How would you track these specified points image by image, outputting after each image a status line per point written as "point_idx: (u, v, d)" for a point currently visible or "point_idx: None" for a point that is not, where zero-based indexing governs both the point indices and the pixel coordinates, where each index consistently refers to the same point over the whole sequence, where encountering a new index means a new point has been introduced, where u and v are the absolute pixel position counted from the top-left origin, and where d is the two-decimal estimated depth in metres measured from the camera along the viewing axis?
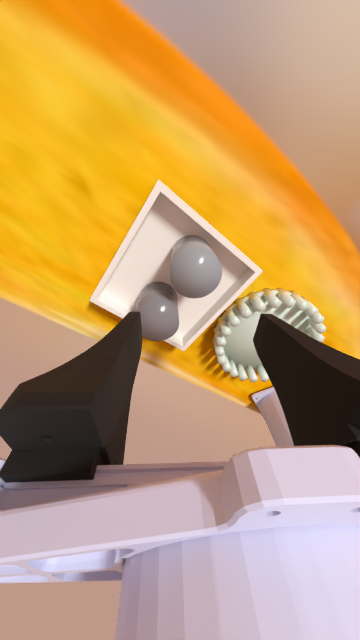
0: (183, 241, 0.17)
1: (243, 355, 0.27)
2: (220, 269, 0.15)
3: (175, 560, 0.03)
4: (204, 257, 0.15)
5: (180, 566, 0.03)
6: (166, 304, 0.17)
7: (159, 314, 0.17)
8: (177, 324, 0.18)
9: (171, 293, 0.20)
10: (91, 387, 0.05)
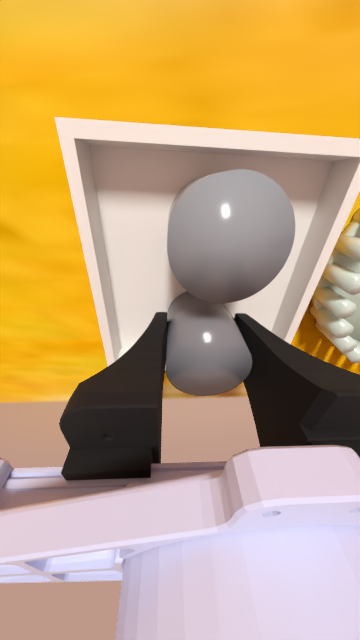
0: (174, 202, 0.08)
1: None
2: (282, 196, 0.06)
3: (175, 560, 0.03)
4: (226, 194, 0.06)
5: (180, 566, 0.03)
6: (206, 333, 0.09)
7: (205, 354, 0.09)
8: (247, 353, 0.09)
9: None
10: (151, 386, 0.05)
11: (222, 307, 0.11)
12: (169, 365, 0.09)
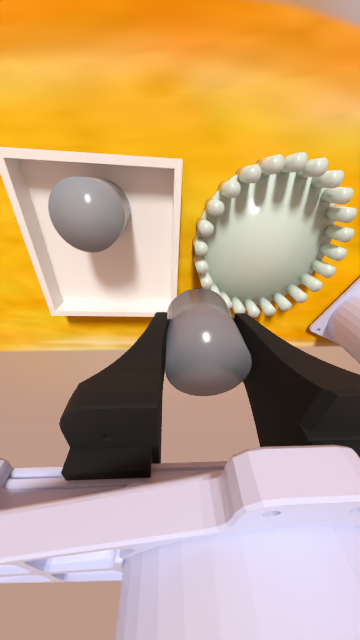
0: None
1: (257, 285, 0.20)
2: (102, 190, 0.11)
3: (175, 560, 0.03)
4: (72, 189, 0.11)
5: (180, 566, 0.03)
6: (205, 332, 0.09)
7: (204, 354, 0.09)
8: (246, 353, 0.09)
9: (208, 301, 0.11)
10: (151, 387, 0.05)
11: (221, 307, 0.11)
12: (168, 365, 0.09)
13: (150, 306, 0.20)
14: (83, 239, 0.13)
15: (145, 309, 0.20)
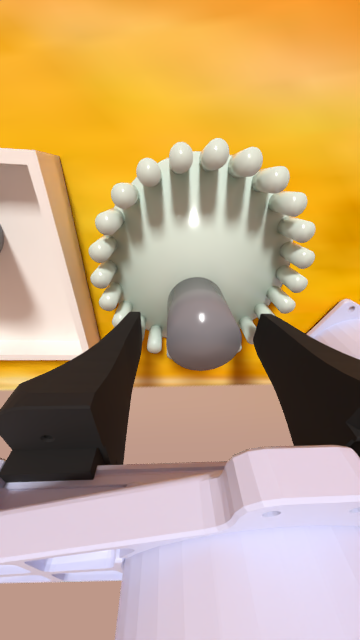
0: None
1: None
2: None
3: (175, 560, 0.03)
4: None
5: (180, 566, 0.03)
6: (200, 310, 0.10)
7: (200, 330, 0.10)
8: (236, 330, 0.10)
9: (204, 287, 0.12)
10: (91, 387, 0.05)
11: (216, 292, 0.12)
12: (169, 340, 0.11)
13: (62, 345, 0.15)
14: None
15: (52, 350, 0.15)
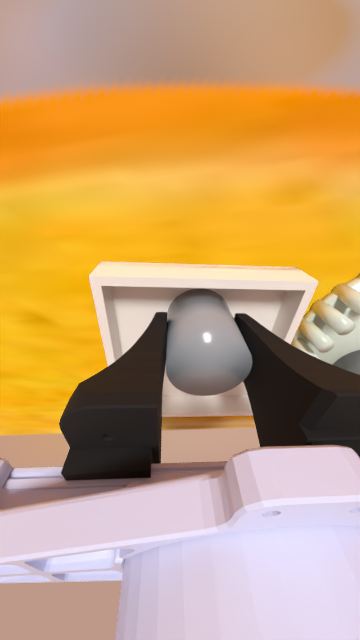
0: (171, 316, 0.11)
1: None
2: (241, 345, 0.09)
3: (175, 560, 0.03)
4: (204, 345, 0.09)
5: (180, 566, 0.03)
6: None
7: None
8: None
9: None
10: (151, 387, 0.05)
11: None
12: None
13: (228, 401, 0.17)
14: (199, 386, 0.10)
15: (223, 406, 0.17)
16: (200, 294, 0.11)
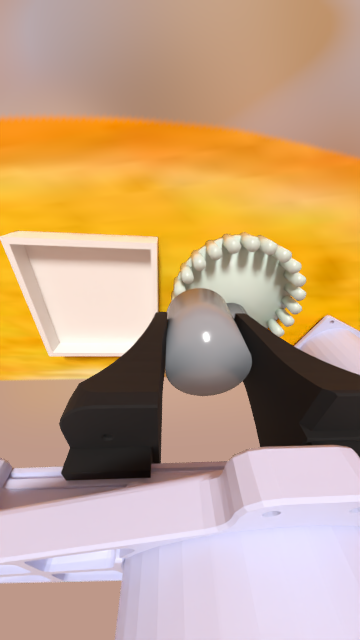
0: (171, 316, 0.11)
1: None
2: (240, 345, 0.09)
3: (175, 561, 0.03)
4: (204, 345, 0.09)
5: (180, 566, 0.03)
6: None
7: None
8: None
9: (238, 310, 0.20)
10: (151, 387, 0.05)
11: None
12: None
13: None
14: (198, 386, 0.10)
15: None
16: (200, 294, 0.11)
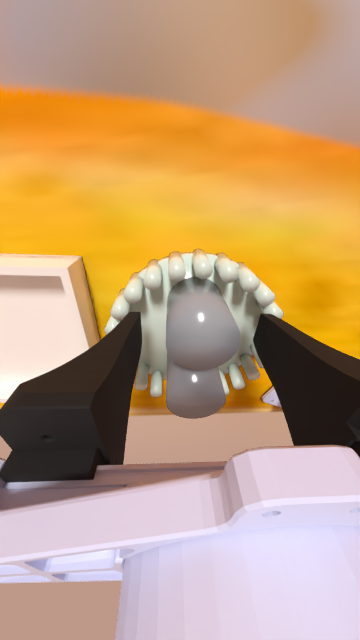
0: (170, 301, 0.13)
1: None
2: (230, 321, 0.10)
3: (175, 560, 0.03)
4: (199, 321, 0.10)
5: (180, 566, 0.03)
6: (192, 379, 0.13)
7: (192, 392, 0.13)
8: (221, 391, 0.13)
9: None
10: (91, 387, 0.05)
11: None
12: (168, 399, 0.13)
13: None
14: (195, 360, 0.11)
15: None
16: (196, 281, 0.13)
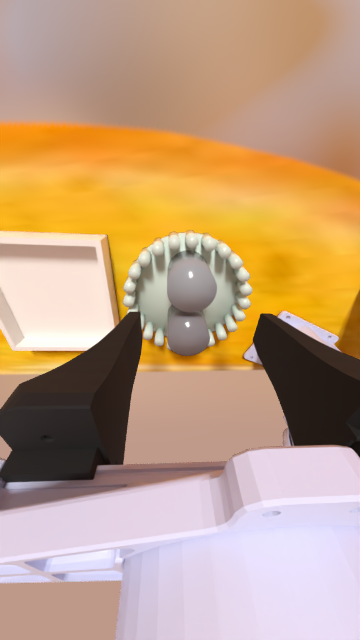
0: (170, 266, 0.18)
1: None
2: (209, 274, 0.16)
3: (175, 560, 0.03)
4: (188, 274, 0.15)
5: (180, 566, 0.03)
6: (185, 321, 0.18)
7: (186, 332, 0.19)
8: (206, 331, 0.19)
9: None
10: (91, 387, 0.05)
11: None
12: (168, 338, 0.19)
13: (98, 341, 0.24)
14: (186, 304, 0.17)
15: (92, 344, 0.23)
16: (188, 252, 0.18)
